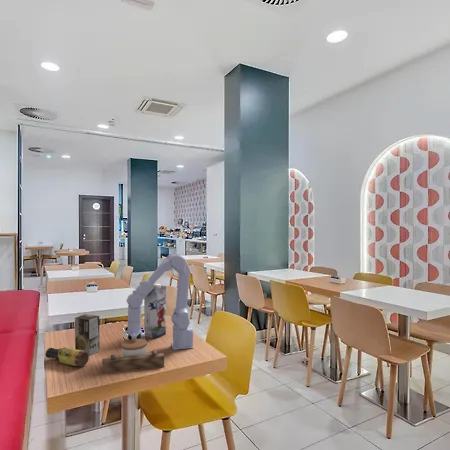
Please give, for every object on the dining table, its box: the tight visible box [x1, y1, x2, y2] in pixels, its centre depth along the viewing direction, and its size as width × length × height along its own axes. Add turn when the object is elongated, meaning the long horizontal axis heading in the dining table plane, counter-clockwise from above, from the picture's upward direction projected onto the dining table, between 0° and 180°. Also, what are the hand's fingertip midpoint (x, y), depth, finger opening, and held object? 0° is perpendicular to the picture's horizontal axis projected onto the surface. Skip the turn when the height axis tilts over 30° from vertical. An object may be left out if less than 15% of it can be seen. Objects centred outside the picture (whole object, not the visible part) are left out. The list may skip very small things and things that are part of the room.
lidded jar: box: [120, 338, 148, 357], centre depth 143 cm, size 11×11×9 cm
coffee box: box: [74, 313, 101, 356], centre depth 154 cm, size 9×6×16 cm
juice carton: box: [143, 283, 167, 339], centre depth 176 cm, size 9×10×27 cm
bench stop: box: [101, 350, 165, 374], centre depth 136 cm, size 24×3×6 cm, turn 104°
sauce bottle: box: [44, 347, 90, 368], centre depth 141 cm, size 6×6×20 cm
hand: (134, 351), depth 151 cm, fingers closed
